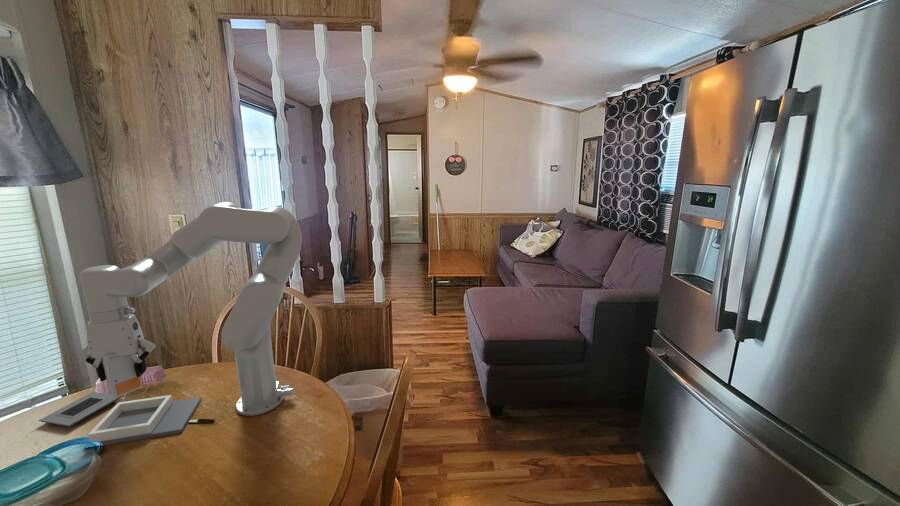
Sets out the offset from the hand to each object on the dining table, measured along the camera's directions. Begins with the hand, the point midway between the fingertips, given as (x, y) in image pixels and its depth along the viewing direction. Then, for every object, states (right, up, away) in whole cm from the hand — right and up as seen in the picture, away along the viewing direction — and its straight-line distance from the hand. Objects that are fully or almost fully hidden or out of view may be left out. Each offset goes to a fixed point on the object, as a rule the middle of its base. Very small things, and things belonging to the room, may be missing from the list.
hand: (123, 375), depth 95 cm
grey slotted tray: (-19, -14, +8) cm, 25 cm away
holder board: (+3, -14, +4) cm, 15 cm away
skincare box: (0, -4, +1) cm, 4 cm away
